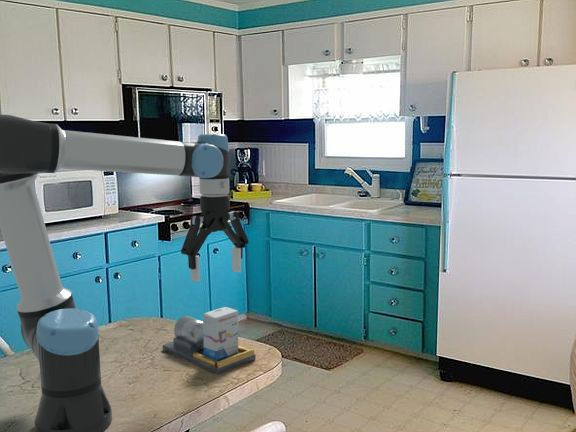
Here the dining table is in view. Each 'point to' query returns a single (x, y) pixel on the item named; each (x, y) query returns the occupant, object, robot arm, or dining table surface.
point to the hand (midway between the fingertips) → (216, 276)
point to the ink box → (220, 333)
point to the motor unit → (202, 347)
